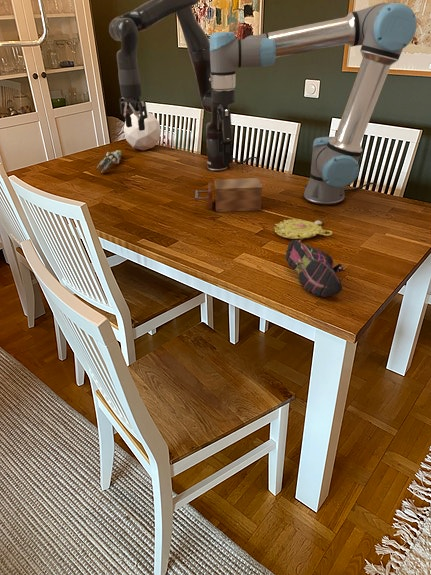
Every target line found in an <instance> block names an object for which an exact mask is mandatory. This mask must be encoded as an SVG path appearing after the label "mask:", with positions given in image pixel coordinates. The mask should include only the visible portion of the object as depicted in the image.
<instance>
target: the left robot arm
mask: <svg viewBox="0 0 431 575" xmlns="http://www.w3.org/2000/svg"><path fill="white" fill-rule="evenodd" d="M199 2H200V0H148V1H146V2H144V3H143V4H141V5H139V6H137V7H136V8H135V9H133V10H131V11H127V12H125V13H123V14H121V15H118V16H116V17H115V18H113V19H112V20H111V21H110V22H109V26H108V32H109V35H110V37H111V38H112V39H113V40H114V41H116V42H120V43H121V45H120V49H119V50H118V51H117V52H116V62H117V69H118V70H117V71H118V74H117V76H118V82H119V83H118V84H119V89H120V90H119V91H120V97H119V100H118V101H119V109H120V114H121V115H123V117H124V120H125V121H126V127H132V121H131V117H130V115H132V114H133V113H134V115H136V117H137V119H138V126H139V130H140V131H142V130H145V125H144V119H146V118H147V112H148V110H147V102H146V100H142V101H141V100H140V97H141V96H142V95H143V93H142V86H141V77H140V71H139V64H138V57H137V54H138V48H139V32H145V31H146V30H148V29H149V28H151V27H153V26H155V25H156V24H157V23H160V22H161V21H162V20H164V19H165V18H167V17H169V16H171V15H173V14H174V13H175V15H176V17H177V19H178V23H179V26H180V29H181V32H182V35H183V38H184V41H185V45H186V48H187V52H188V55H189V59H190V62H191V66H192V68H193V72H194V75H195V79H196V83H197V86H198V87H197V88H198V93H199V98H200V103H201V107H202V109H203V111H205V113H208V114H211V120H210V122H207V123H206V125H205V128H206V129H205V134H206V158H207V159H206V165H207V166H206V167H207V170H208V171H212V172H223V171H226V170H227V169H229V168H230V164H224V163H223V152H219V145H218V133H220V132H218V128H217V122H218V113H217V109H218V105H217V104H214V103H212V90H214V89H212V86H211V82H212V81H211V82H210V81H209V79H210V78H212V77H211V63H210V38H209V37H208V35H207V33H206V31H204V29H203V28H202V26H201V25H200V24H199V22H198V21H197V18H196V17H195V14H194V11H193V8H192V7H194V6H195V5H197V4H198V3H199ZM228 106H229V107H230V104H229V105H228ZM143 112H144V115H143ZM139 114H140V116H139ZM125 121H124V122H125ZM252 159H255V160H256V161H258V160H260V158H259V157H257V156H250V157H248V158H244V160H243V161H238V159H237V158H235V157H233V155H232V163H231V164H233V162H234V161H235V162H236V164H239V165H240V164H245V163H247V161H250V160H252ZM233 160H234V161H233Z"/></svg>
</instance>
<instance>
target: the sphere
mask: <svg viewBox="0 0 431 575" xmlns="http://www.w3.org/2000/svg"><path fill="white" fill-rule="evenodd" d="M143 115H144V112H143ZM139 116H140V114H139ZM130 117H131V121H132V127H126V121H124V126H123V134H124V139H125V140H126V142H127V143H128V144H129V145H130V146H131V147H132V148H133V149H136V150H140V151H146V150H149V149H152V148H154V147H155V146H156V145H157V144H159V142H160V139H161V133H162V129H161V124H160V122H159V120H158V119H157V118H156V117H155V115H154V114H153V113H151V112H148V111H147V118H146V119H144V125H145V130H142V131H140V130H139V126H138V119H137V117H136V115H134V113H133V112H132V113H131V115H130Z"/></svg>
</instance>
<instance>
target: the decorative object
mask: <svg viewBox="0 0 431 575" xmlns="http://www.w3.org/2000/svg"><path fill="white" fill-rule="evenodd" d="M322 225H323V221H321V220H314V222H313V221H310V220H304V219H303V218H292V219H283V221H279V223H274V227H273V229H274V233H276V234H277V236H279V237H282V238H284V239H285V238H286V239H290V240H298V241H299V242H302V240H305V239H310V238H313V237H315V236H317V235H319V236H320V235H321V236H325V237H329V236H331V235H333V231H332V230H325V229H323V227H322ZM326 233H327V234H326Z"/></svg>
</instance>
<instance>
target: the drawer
mask: <svg viewBox="0 0 431 575" xmlns="http://www.w3.org/2000/svg"><path fill="white" fill-rule="evenodd" d="M207 189H208V190H199V189H196V190H195V191H194V201H196V202H197V201H199V200H201V201H202V200H208V209H209V210H213V189H212V182H208V183H207ZM199 194H208V197H199Z"/></svg>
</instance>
